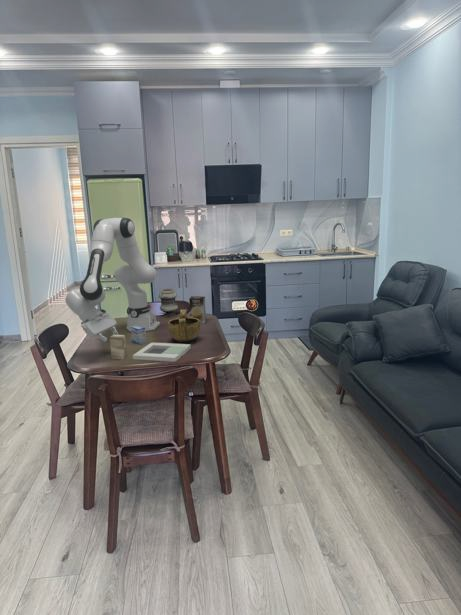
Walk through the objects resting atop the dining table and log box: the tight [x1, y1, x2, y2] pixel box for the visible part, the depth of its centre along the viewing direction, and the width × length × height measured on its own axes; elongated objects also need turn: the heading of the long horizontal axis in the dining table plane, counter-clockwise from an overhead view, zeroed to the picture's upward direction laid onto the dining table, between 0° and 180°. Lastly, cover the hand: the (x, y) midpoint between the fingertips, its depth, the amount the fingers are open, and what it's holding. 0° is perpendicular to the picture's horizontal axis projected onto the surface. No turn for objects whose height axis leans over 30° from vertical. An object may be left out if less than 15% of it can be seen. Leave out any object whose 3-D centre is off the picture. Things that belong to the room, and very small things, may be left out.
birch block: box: [109, 334, 128, 360], centre depth 203 cm, size 4×6×11 cm, turn 74°
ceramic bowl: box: [167, 308, 201, 343], centre depth 225 cm, size 22×17×15 cm
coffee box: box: [188, 296, 207, 324], centre depth 261 cm, size 9×6×16 cm
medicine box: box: [130, 326, 147, 345], centre depth 226 cm, size 8×4×9 cm, turn 44°
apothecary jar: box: [158, 288, 179, 318], centre depth 281 cm, size 12×12×18 cm
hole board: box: [132, 342, 192, 363], centre depth 207 cm, size 20×22×2 cm
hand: (111, 337), depth 202 cm, fingers open, 8 cm apart
